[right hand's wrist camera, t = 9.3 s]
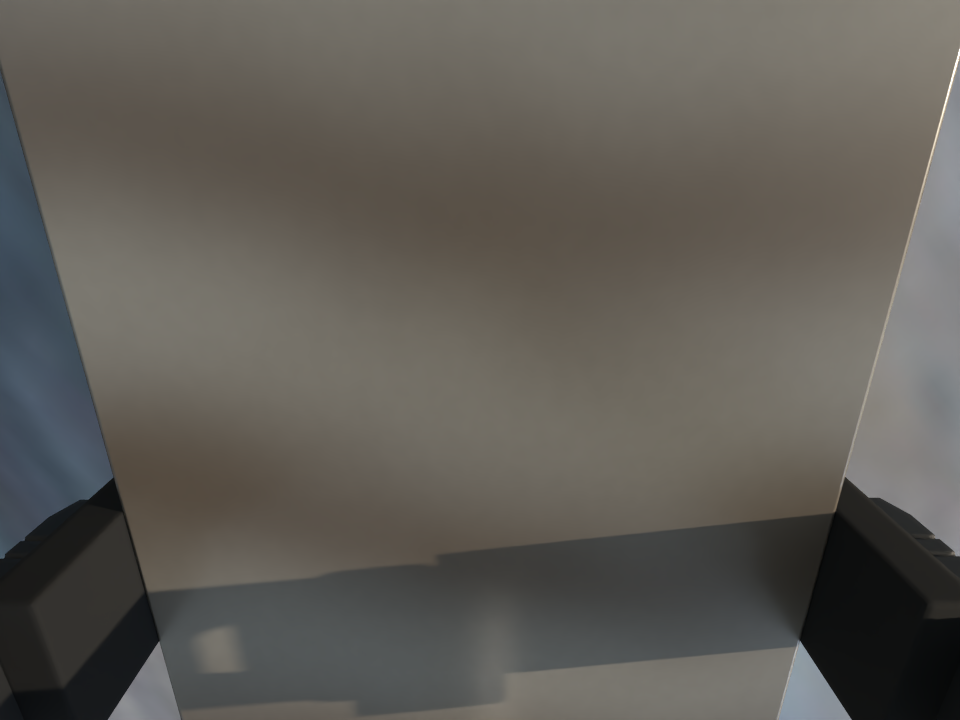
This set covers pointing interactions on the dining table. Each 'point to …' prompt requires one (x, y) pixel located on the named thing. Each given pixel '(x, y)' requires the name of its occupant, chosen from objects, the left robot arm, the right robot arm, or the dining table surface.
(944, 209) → the dining table surface
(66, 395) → the dining table surface
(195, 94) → the cabinet
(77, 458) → the dining table surface
